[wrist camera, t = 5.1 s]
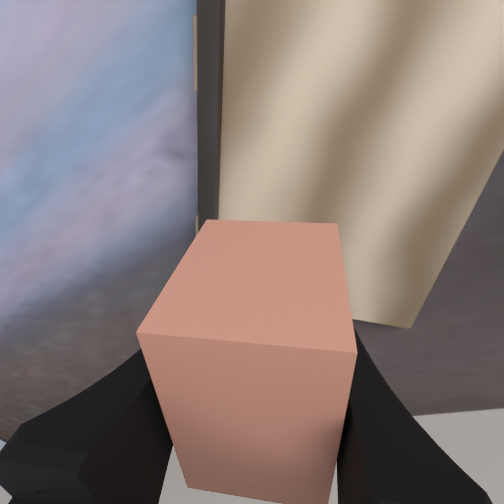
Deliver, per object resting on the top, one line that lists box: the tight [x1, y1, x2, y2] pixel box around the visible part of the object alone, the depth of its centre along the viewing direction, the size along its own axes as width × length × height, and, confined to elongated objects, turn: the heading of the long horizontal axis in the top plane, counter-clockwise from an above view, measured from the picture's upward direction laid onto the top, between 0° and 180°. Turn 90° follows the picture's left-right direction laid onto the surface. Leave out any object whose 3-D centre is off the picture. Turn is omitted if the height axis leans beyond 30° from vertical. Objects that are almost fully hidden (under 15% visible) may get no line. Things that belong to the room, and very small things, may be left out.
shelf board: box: [193, 0, 504, 329], centre depth 17 cm, size 15×20×2 cm
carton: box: [136, 220, 357, 504], centre depth 12 cm, size 5×8×6 cm, turn 2°
